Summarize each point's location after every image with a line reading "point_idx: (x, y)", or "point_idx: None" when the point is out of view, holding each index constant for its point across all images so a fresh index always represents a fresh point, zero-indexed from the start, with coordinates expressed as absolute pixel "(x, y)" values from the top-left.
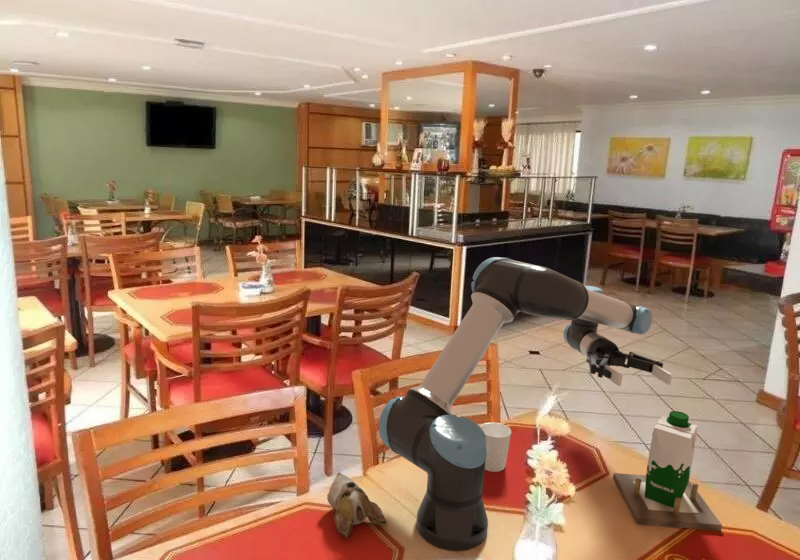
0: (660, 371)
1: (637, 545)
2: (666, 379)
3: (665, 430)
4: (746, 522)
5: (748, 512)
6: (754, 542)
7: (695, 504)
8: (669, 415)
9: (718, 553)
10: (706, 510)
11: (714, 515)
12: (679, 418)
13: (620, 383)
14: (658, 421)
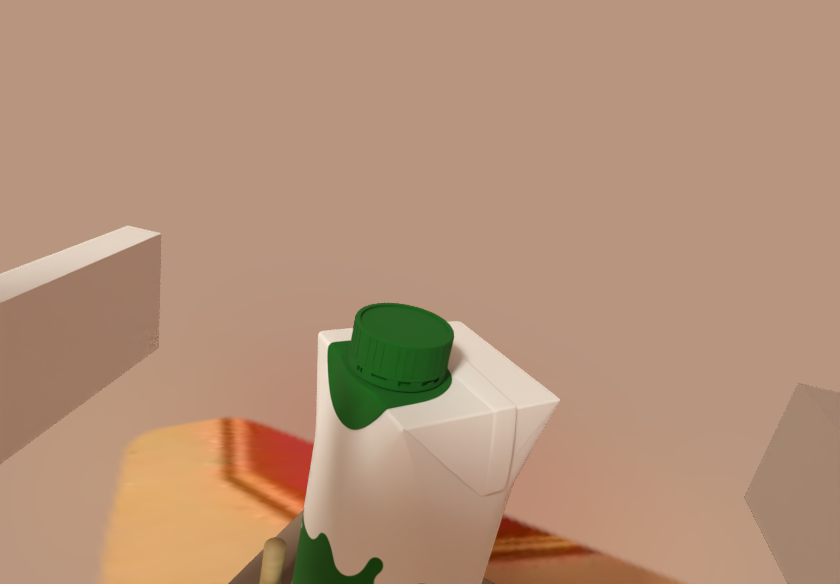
0: (41, 322)
1: (609, 577)
2: (135, 321)
3: (521, 371)
4: (197, 497)
5: (125, 514)
6: (279, 459)
7: (291, 578)
8: (442, 356)
9: None
10: (290, 544)
11: (293, 522)
12: (438, 316)
13: (765, 477)
14: (496, 408)
